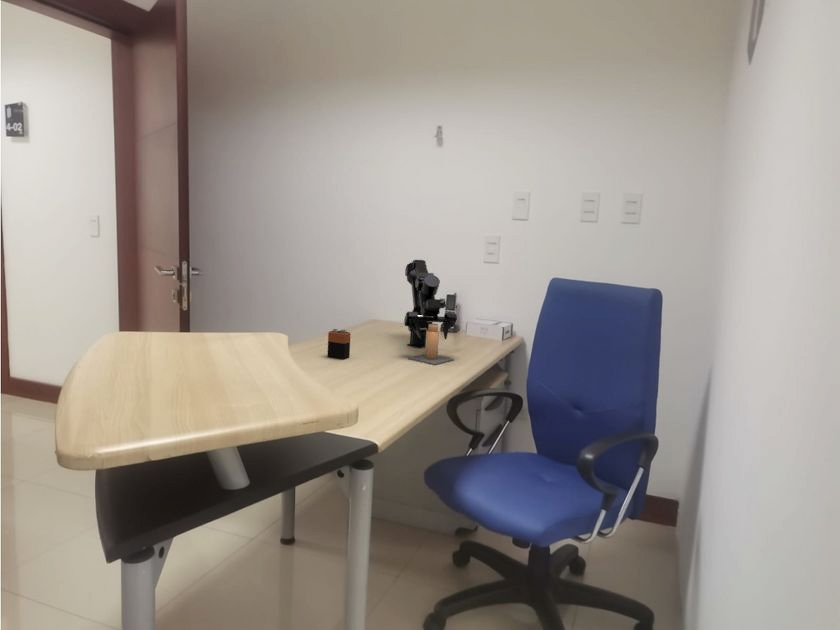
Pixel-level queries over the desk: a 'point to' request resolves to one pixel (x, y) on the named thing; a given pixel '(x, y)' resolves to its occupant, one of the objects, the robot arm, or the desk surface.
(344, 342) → the battery
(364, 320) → the desk surface
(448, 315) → the robot arm
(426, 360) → the mat
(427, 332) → the peach capped bottle
